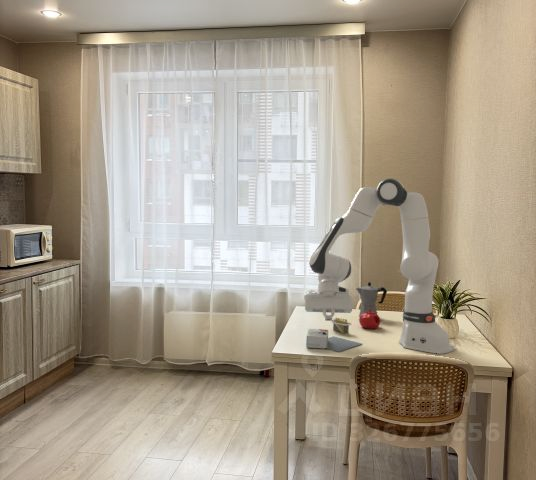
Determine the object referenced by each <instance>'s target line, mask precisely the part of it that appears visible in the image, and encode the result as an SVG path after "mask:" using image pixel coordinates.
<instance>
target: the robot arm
mask: <svg viewBox="0 0 536 480" xmlns="http://www.w3.org/2000/svg"><path fill="white" fill-rule="evenodd" d="M382 205H383V206H389V207H391V206H392V207H393V206H394V207H397V208H398V211H399V214H400V220H401V221H400V223H401V231H402V232H401V233H402V252H401V253H402V255H401V256H402V257H401V263H400V264H399V265H400V266H399V267H400V273H401V274H402V276H403V277H404V278H405V279H408V282H407V286H406V289H405V295H404V309H403V312H402V313H403V314H402V321H403V325H402V330H401V335H400V339H399V341H398V342H399V345H402V348H404V349H407V350H413V351H414V350H415V351H419V352H425V353H430V354H436V353H437V355H442V354H448V353H450V352H454V350H455V349H456V346H455V344H451V343H450V337H449V334H448V332H447V331H446V330H445V329H444V328H443V327H442V326H441V325H440V324H438V322H437V321H436V318H437V317H438V314H434V313H433V296H434V295H433V294H434V293H433V292H434V287H435V283H436V279H437V278H436V277H437V274H438V273H437V272H438V267H439V263H440V262H439V259H438V256H437V255H436V254H435V253H433V252H431V251H429V248H430V240H431V229H430V219H429V213H428V207H427V204H426V200H425V197H424V196H423V195H422V194H421V193H419V192H413V191H412V192H411V191H410V192H408V191H407V190H406V189H405V187H404V185H403V184H402V182H401V181H399V180H397V179H395V178H386V179H383V180H381V181H380V182H379V183H378V185H377V187H376V188H373V187H369V186H364V187H361V188H360V189H359V190H358V191H357V193H356V194H355V196H354V197H353V199H352V201H351V203H350V206H349V208H348V210H347V211H346V213H345V214H343V216H341V217H340V216H339V217H338V218H336V219H335V221H334V222H333V223H332V224H331V226H330V227H329V229H328V231H327V232H326V234H325V235H324V237H323V239H322V240H321V242H320V244H319V245H318V247H316V249H315V251H314V252H313V253H312V255H311V256H310V258H309V262H308V263H309V264H308V265H309V267H310V269H311V270H312V272H313V273H315V274H318V276H317V277H318V278H317V280H318V288H317V289H318V290H317V292H315V291H314V292H312V291H309V292H306V293H305V294H304V297H303V298H304V300H305V302H304V303H305V304H304V310H305V312H307V313H322V315H323V317H324V319H325V320H324V321H325V322H326V321H329V322H331V321H332V320H333V318H334V316H335V314H336V313H338V314H341V313H342V314H351V313H352V311H353V302H352V298H351V297H352V296H350V292H349V289H348V288H346V287H343V286H340V285H339V283H341V282H343V281H345V280H347V279H348V278H349V277H350V276H351V273H352V263H351V261H350V260H349V259H348V258H345V257H343V256H340V255H336V254H333V253H330V250H331V249H332V247H333V246H334V244H335V243H336V241H337V240H338V238H339V237H340V236H342V235H344V234H354V233H355V234H356V233H361V232H364V231H366V230H367V229H368V228H369V227H370V226H371V224H372V222H373V220H374V217H375V214H376V213H377V210H378V209H379V208H380V207H381V206H382ZM327 313H330V314H329V315H327Z"/></svg>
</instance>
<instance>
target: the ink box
mask: <svg viewBox="0 0 536 480" xmlns="http://www.w3.org/2000/svg"><path fill="white" fill-rule="evenodd" d="M328 338H329V329H325V328H324V329H321V328H317V329H316V328H308V329H307V334H306V339H305V340H306V345H305V347H306V348H313V349H325V348H327V344H328Z"/></svg>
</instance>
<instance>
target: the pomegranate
mask: <svg viewBox="0 0 536 480" xmlns="http://www.w3.org/2000/svg"><path fill="white" fill-rule="evenodd" d="M365 312H366V311H365ZM365 312H364V314H362V315H361V316H360V317H359V318H358V321H359V325H360V326H361V327H362V328H363V329H367V330H376V329H378V328H379V327H380V325H381V320H382V319H381V317H380V316H379V314H378V311H377V312H376V313H377V314H375V312H371V308H369V313H368V312H366V313H365Z"/></svg>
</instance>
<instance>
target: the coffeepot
mask: <svg viewBox="0 0 536 480" xmlns="http://www.w3.org/2000/svg"><path fill="white" fill-rule="evenodd" d="M355 290H356V291H357V292H358V294H359V296H360V301H361V305H360V310H359V315H358V317H359V318H360V316H361V315H362V314H364V312H365V311H366V312H368V313H369V308H371V312H375V314H377V315H378V311H377V310H378V309H377V305H376V302H377V300H378V299H377V298H378V294H379V292H382V296H381V298H380V301H378V304H383V303H384V301H385V298H386V295H387V292H388V290H387V289H386V288H385V287H383V286H381V287H380V286H379V287H378V286H377V287H376V286H372V282H370V281H369V282H367V285H365V286H361V287H357V288H355ZM366 312H365V313H366ZM376 312H377V313H376Z"/></svg>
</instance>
